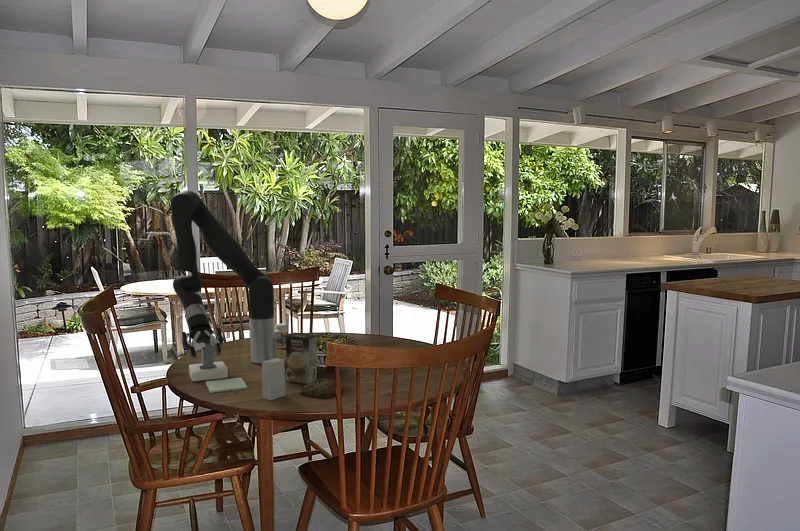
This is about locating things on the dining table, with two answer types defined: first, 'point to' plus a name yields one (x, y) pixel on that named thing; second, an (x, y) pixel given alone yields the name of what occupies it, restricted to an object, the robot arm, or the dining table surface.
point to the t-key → (207, 356)
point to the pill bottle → (281, 335)
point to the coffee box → (301, 358)
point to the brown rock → (320, 388)
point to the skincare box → (273, 378)
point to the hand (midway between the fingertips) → (207, 355)
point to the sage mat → (226, 385)
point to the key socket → (208, 372)
